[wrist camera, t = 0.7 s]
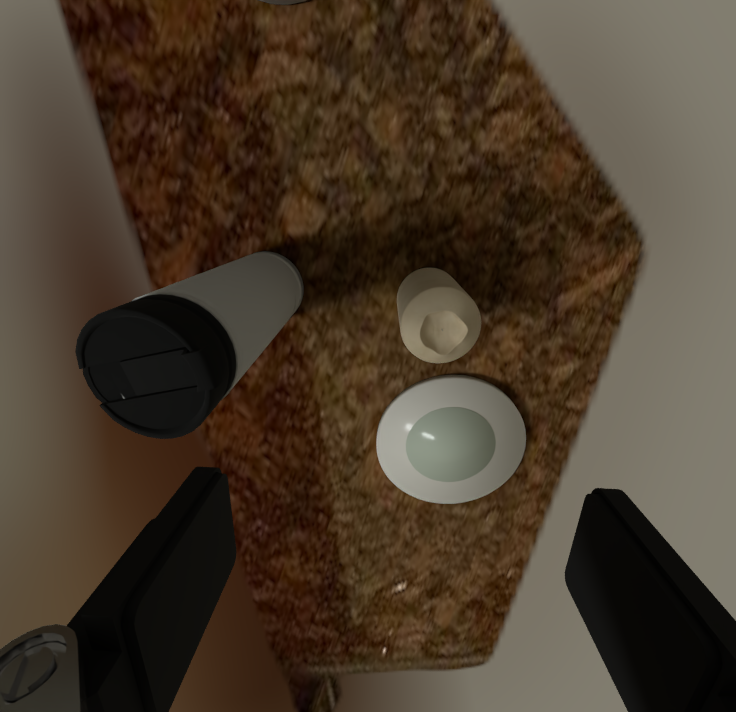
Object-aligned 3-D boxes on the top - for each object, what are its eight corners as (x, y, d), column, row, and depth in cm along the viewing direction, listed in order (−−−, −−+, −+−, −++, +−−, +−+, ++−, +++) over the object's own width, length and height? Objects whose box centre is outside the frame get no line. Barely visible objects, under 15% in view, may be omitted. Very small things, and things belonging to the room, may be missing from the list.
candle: (459, 264, 33) (489, 289, 23) (457, 325, 35) (484, 370, 26) (395, 268, 33) (399, 293, 24) (397, 328, 35) (402, 373, 26)
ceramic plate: (376, 373, 37) (376, 378, 36) (533, 375, 36) (537, 380, 35) (376, 495, 42) (376, 502, 41) (512, 498, 42) (515, 506, 41)
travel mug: (316, 311, 35) (238, 434, 16) (248, 326, 36) (101, 459, 17) (296, 242, 33) (180, 293, 14) (225, 259, 33) (26, 329, 15)
